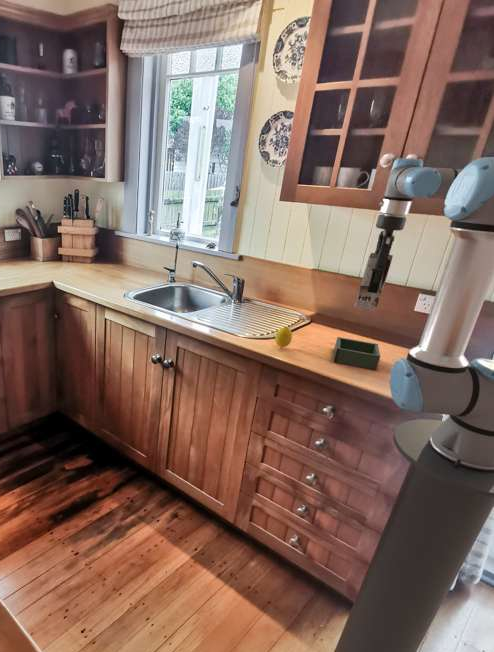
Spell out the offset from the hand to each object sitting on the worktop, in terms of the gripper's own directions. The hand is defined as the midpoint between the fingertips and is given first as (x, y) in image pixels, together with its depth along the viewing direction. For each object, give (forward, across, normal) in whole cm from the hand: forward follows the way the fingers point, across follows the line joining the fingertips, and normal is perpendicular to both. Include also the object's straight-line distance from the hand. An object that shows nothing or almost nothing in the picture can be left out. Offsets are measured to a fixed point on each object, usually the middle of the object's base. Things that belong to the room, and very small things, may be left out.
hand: (371, 288), depth 148 cm
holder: (+25, -1, +1) cm, 25 cm away
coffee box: (+6, 0, 0) cm, 6 cm away
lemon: (+25, +1, -23) cm, 34 cm away
